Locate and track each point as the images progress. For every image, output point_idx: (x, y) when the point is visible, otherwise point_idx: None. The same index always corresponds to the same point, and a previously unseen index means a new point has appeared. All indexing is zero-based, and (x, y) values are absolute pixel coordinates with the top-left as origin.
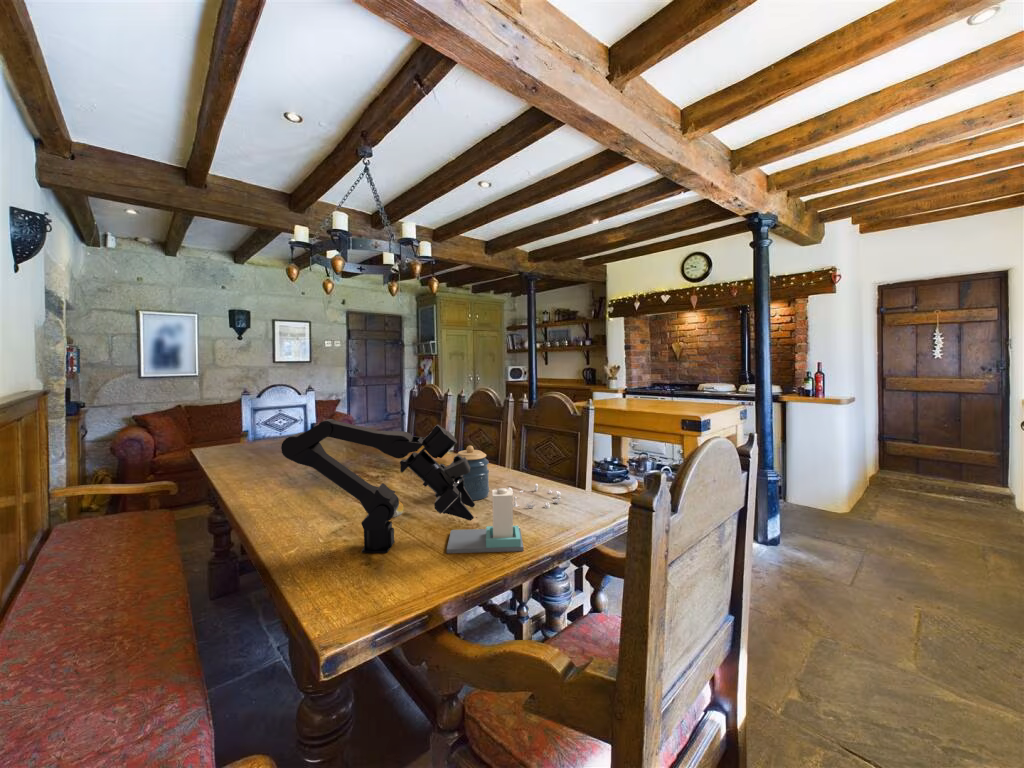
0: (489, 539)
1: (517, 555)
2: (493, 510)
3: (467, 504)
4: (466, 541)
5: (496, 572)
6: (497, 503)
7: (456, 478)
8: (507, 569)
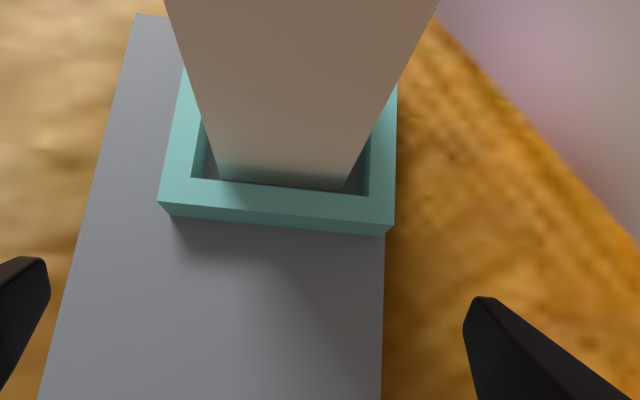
0: (389, 202)
1: (426, 96)
2: (405, 63)
3: (8, 367)
4: (268, 359)
5: (587, 212)
6: None
7: None
8: (558, 161)
